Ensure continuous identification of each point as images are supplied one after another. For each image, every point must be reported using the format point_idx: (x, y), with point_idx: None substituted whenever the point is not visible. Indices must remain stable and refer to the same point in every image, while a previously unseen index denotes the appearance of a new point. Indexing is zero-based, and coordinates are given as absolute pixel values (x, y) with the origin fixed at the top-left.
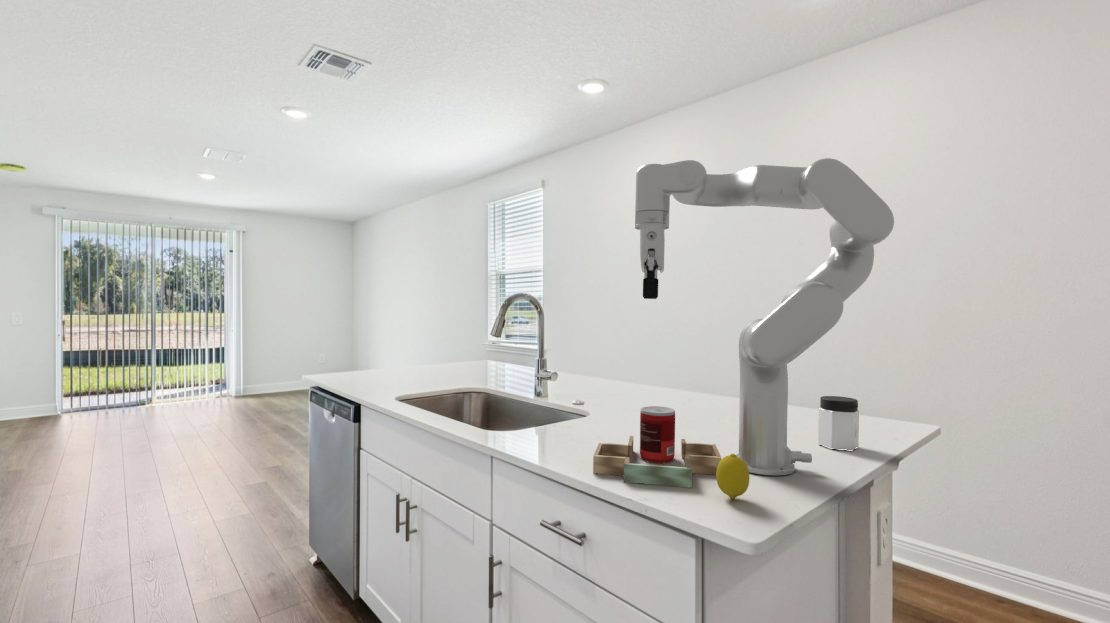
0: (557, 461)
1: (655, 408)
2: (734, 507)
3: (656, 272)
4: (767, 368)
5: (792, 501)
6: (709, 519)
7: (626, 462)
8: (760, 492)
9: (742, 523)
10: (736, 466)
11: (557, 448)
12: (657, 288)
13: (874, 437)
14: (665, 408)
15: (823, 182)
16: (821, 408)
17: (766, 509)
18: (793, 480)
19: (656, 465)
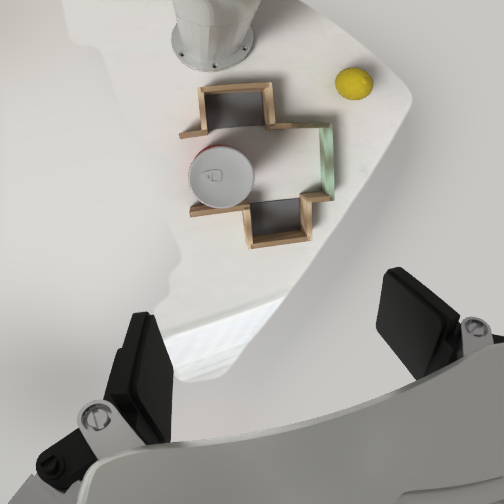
0: (272, 281)
1: (199, 184)
2: None
3: (491, 343)
4: None
5: (328, 34)
6: (390, 117)
7: (328, 198)
8: (313, 55)
9: (390, 92)
10: (372, 81)
11: (219, 298)
12: (425, 289)
13: None
14: (197, 166)
15: None
16: None
17: (357, 63)
18: (257, 14)
19: (330, 163)
